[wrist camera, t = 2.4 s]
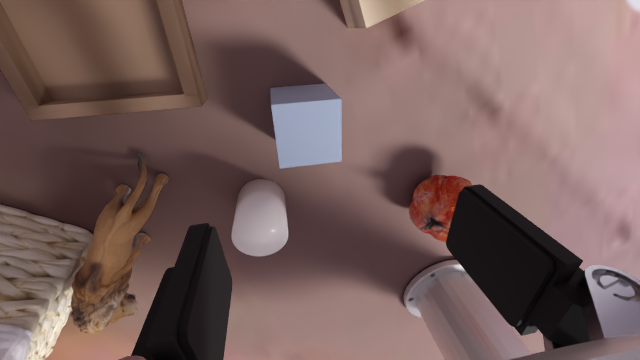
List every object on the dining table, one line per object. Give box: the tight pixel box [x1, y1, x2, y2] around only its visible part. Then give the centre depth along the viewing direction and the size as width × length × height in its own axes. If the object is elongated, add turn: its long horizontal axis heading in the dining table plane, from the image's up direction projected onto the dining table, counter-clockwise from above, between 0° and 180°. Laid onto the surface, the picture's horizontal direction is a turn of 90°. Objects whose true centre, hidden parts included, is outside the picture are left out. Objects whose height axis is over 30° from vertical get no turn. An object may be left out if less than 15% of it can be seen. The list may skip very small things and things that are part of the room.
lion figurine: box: [71, 153, 169, 335], centre depth 24 cm, size 15×5×9 cm, turn 160°
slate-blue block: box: [270, 83, 342, 169], centre depth 23 cm, size 5×5×6 cm
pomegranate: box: [409, 175, 472, 242], centre depth 30 cm, size 7×7×10 cm
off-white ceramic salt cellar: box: [231, 179, 288, 256], centre depth 27 cm, size 5×5×6 cm
